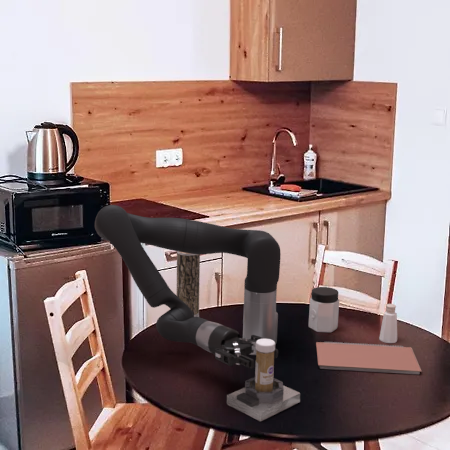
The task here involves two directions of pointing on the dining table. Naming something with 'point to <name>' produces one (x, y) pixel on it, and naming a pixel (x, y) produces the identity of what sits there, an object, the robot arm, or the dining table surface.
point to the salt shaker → (389, 325)
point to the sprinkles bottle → (264, 365)
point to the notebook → (367, 358)
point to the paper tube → (188, 280)
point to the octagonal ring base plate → (263, 399)
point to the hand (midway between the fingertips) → (265, 359)
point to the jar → (324, 309)
